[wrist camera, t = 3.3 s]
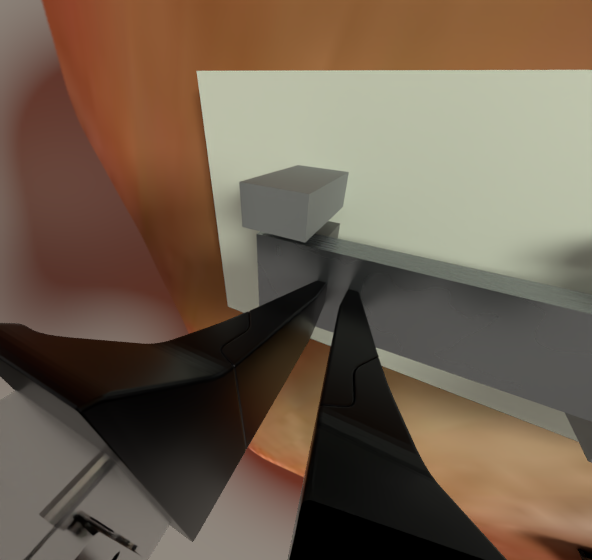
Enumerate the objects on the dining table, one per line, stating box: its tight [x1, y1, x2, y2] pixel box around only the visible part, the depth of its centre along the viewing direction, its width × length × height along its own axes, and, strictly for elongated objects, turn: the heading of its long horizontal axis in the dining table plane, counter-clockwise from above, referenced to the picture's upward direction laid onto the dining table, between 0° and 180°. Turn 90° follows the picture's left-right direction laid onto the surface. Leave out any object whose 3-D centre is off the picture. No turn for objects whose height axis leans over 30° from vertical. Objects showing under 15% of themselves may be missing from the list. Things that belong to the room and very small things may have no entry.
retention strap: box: [256, 231, 592, 422], centre depth 8 cm, size 15×5×1 cm, turn 85°
